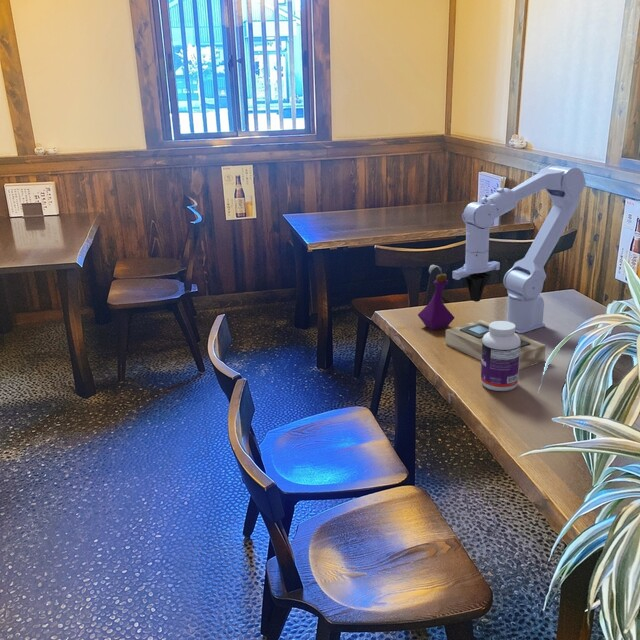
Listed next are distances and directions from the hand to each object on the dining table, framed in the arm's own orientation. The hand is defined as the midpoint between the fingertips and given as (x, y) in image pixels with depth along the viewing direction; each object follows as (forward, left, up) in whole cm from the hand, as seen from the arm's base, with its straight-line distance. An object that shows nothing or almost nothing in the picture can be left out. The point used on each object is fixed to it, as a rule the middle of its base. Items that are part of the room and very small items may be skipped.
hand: (475, 300), depth 163 cm
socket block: (+4, +11, -10) cm, 15 cm away
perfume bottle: (+4, -11, -10) cm, 15 cm away
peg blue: (+4, +6, -10) cm, 12 cm away
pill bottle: (+16, +25, -10) cm, 31 cm away
